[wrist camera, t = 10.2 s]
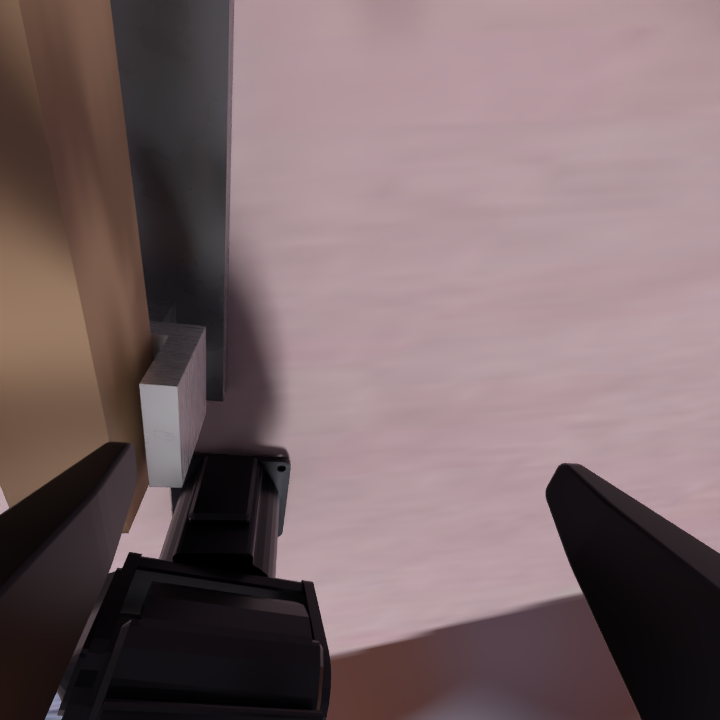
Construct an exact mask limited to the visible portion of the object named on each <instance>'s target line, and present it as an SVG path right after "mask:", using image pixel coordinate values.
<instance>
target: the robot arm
mask: <svg viewBox="0 0 720 720" xmlns="http://www.w3.org/2000/svg"><path fill="white" fill-rule="evenodd" d="M281 465H283V466H284V467H279V466H281ZM290 467H291V463H290V461H289V459H287V458H284V457H265V456H242V455H219V454H196V453H193V455H192V459H191V462H190V465H189V468H188V471H187V474H186V477H185V480H184V483H183V486H182V488H174V487H171V489H172V505H173V517H172V520H171V523H170V526H169V529H168V532H167V536H166V539H165V542H164V545H163V548H162V551H161V554H160V557H159V559H155V558H149V557H143V556H141V555H142V554H138V553H132V552H129V554H128V556H127V559H126V561H125V563H124V566H123V568H117V570H116V571H115V572H112V573H109V570H110V568H111V565H112V562H113V559H114V556H115V553H116V550H117V546H118V543H119V540H120V537H121V534H122V530H123V527H124V524H125V521H126V517H127V514H128V511H129V508H130V504H131V501H132V498H133V495H134V492H135V488H136V484H137V467H136V458H135V449H134V446H133V444H131V443H129V442H107V443H105V444H103V445H102V446H100V447H99V448H98V449H96V450H95V451H93V452H92V453H90V454H89V455H87V456H86V457H84V458H83V459H81V460H80V461H78V462H77V463H75V464H74V465H73V466H71V467H70V468H68V469H67V470H65V471H64V472H62V473H61V474H59V475H58V476H56V477H55V478H53V479H52V480H50V481H49V482H48V483H46V484H45V485H43V486H42V487H40V488H39V489H37V490H36V491H34V492H33V493H31V494H30V495H28V496H27V497H25V498H24V499H23V500H21V501H20V502H18V503H17V504H15V505H14V506H12V507H11V508H9V509H8V510H6V511H5V512H3V513H2V514H0V720H45V717H46V715H47V713H48V711H49V708H50V706H51V704H52V701H53V699H54V697H55V695H56V692H58V694H59V697H60V699H61V701H62V702H61V705H60V708H59V711H58V714H57V715H58V716H63V717H62V720H326V717H327V711H328V706H329V698H330V689H331V664H330V656H329V650H328V646H327V641H326V637H325V632H324V628H323V623H322V619H321V615H320V610H319V606H318V601H317V597H316V593H315V588H314V584H313V582H310V581H304V580H302V581H301V582H297V581H291V580H285V579H279V578H275V574H276V557H277V539H278V537H279V536H280V535H281V534H282V532H283V524H284V516H285V508H286V500H287V492H288V484H289V476H290ZM546 500H547V503H548V505H549V508H550V511H551V514H552V517H553V519H554V522H555V525H556V528H557V531H558V533H559V536H560V539H561V542H562V545H563V547H564V550H565V553H566V556H567V558H568V561H569V563H570V566H571V568H572V570H573V573H574V575H575V577H576V579H577V581H578V584H579V586H580V588H581V590H582V592H583V594H584V597H585V599H586V601H587V603H588V605H589V607H590V609H591V612H592V614H593V616H594V618H595V620H596V623H597V624H598V627H599V629H600V631H601V633H602V635H603V638H604V640H605V642H606V644H607V646H608V648H609V651H610V653H611V655H612V657H613V659H614V661H615V664H616V666H617V668H618V670H619V672H620V675H621V677H622V679H623V681H624V683H625V685H626V688H627V690H628V692H629V694H630V696H631V698H632V701H633V703H634V705H635V707H636V709H637V711H638V714H639V716H640V718H641V720H720V553H718V552H716V551H715V550H713V549H712V548H710V547H709V546H707V545H705V544H704V543H702V542H701V541H699V540H698V539H696V538H695V537H693V536H691V535H690V534H688V533H687V532H685V531H684V530H682V529H680V528H679V527H677V526H676V525H674V524H673V523H671V522H670V521H668V520H666V519H665V518H663V517H662V516H660V515H659V514H657V513H655V512H654V511H652V510H651V509H649V508H648V507H646V506H645V505H643V504H641V503H640V502H638V501H637V500H635V499H634V498H632V497H631V496H629V495H627V494H626V493H624V492H623V491H621V490H620V489H618V488H616V487H615V486H613V485H612V484H610V483H609V482H607V481H606V480H604V479H602V478H601V477H599V476H598V475H596V474H595V473H593V472H591V471H590V470H588V469H587V468H585V467H584V466H582V465H580V464H572V463H563V464H561V465H559V466H558V468H557V469H556V471H555V473H554V475H553V477H552V479H551V480H550V482H549V484H548V486H547V488H546ZM108 573H109V574H108Z"/></svg>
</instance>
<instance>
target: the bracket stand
mask: <svg viewBox="0 0 720 720" xmlns="http://www.w3.org/2000/svg"><path fill="white" fill-rule="evenodd" d="M110 4H111V12H112V20H113V29H114V37H115V45H116V53H117V61H118V69H119V78H120V86H121V94H122V102H123V110H124V118H125V127H126V135H127V143H128V151H129V159H130V167H131V176H132V184H133V192H134V200H135V208H136V216H137V225H138V233H139V241H140V249H141V257H142V265H143V274H144V282H145V290H146V298H147V306H148V314H149V322H150V331H151V339H152V347H153V355H154V361H153V362H152V364H151V366H150V367H149V369H148V370H147V372H146V374H145V375H144V377H143V378H142V380H141V382H140V383H139V387H140V398H141V408H142V418H143V428H144V438H145V448H146V458H147V468H148V479H149V487H174V488H182V486H183V483H184V480H185V477H186V474H187V471H188V468H189V465H190V462H191V459H192V455H193V452H194V449H195V446H196V443H197V440H198V437H199V434H200V431H201V428H202V425H203V422H204V419H205V416H206V400H212V401H223V398H224V394H225V391H226V355H227V308H228V261H229V215H230V168H231V122H232V75H233V28H234V0H110Z"/></svg>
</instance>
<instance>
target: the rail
mask: <svg viewBox="0 0 720 720" xmlns="http://www.w3.org/2000/svg"><path fill="white" fill-rule="evenodd" d="M153 361H154V355H153V347H152V339H151V331H150V322H149V314H148V306H147V298H146V290H145V282H144V274H143V265H142V257H141V249H140V241H139V233H138V225H137V216H136V208H135V200H134V192H133V184H132V176H131V167H130V159H129V151H128V143H127V135H126V127H125V118H124V110H123V102H122V94H121V86H120V78H119V69H118V61H117V53H116V45H115V37H114V29H113V20H112V12H111V4H110V0H0V486H1V488H2V491H3V493H4V496H5V498H6V501H7V503H8V506H9V508H11V507H12V506H14V505H15V504H17V503H18V502H20V501H21V500H23V499H24V498H25V497H27V496H28V495H30V494H31V493H33V492H34V491H36V490H37V489H39V488H40V487H42V486H43V485H45V484H46V483H48V482H49V481H50V480H52V479H53V478H55V477H56V476H58V475H59V474H61V473H62V472H64V471H65V470H67V469H68V468H70V467H71V466H73V465H74V464H75V463H77V462H78V461H80V460H81V459H83V458H84V457H86V456H87V455H89V454H90V453H92V452H93V451H95V450H96V449H98V448H99V447H100V446H102V445H103V444H105V443H107V442H129V443H131V444H133V446H134V449H135V458H136V467H137V484H136V488H135V492H134V495H133V498H132V501H131V504H130V508H129V511H128V514H127V517H126V521H125V524H124V527H123V530H122V533H129V530H130V528H131V525H132V523H133V521H134V518H135V516H136V514H137V511H138V509H139V506H140V504H141V502H142V499H143V497H144V495H145V492H146V490H147V487H148V485H149V479H148V468H147V458H146V448H145V438H144V428H143V418H142V408H141V398H140V387H139V383H140V382H141V380H142V378H143V377H144V375H145V374H146V372H147V370H148V369H149V367H150V366H151V364H152V362H153Z"/></svg>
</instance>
